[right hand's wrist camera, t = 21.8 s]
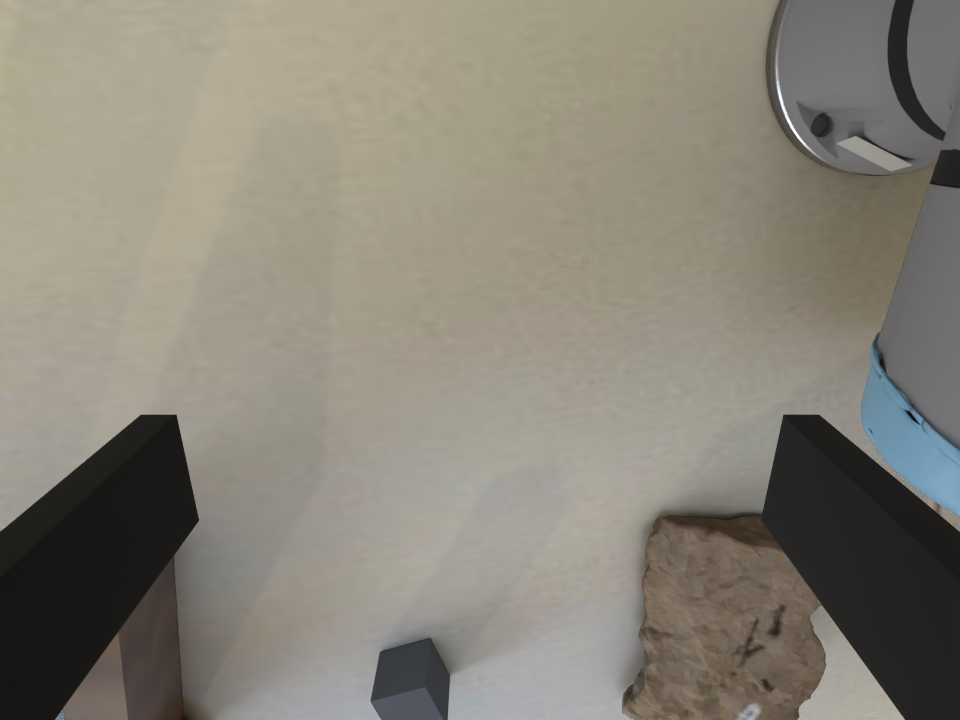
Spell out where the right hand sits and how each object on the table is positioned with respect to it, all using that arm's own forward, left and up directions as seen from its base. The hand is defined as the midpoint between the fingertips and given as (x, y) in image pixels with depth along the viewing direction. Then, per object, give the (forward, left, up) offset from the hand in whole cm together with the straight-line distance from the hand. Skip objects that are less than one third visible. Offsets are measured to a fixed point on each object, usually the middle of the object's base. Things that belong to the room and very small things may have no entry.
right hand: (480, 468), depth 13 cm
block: (+6, +39, -29) cm, 49 cm away
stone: (-20, +32, -29) cm, 47 cm away
